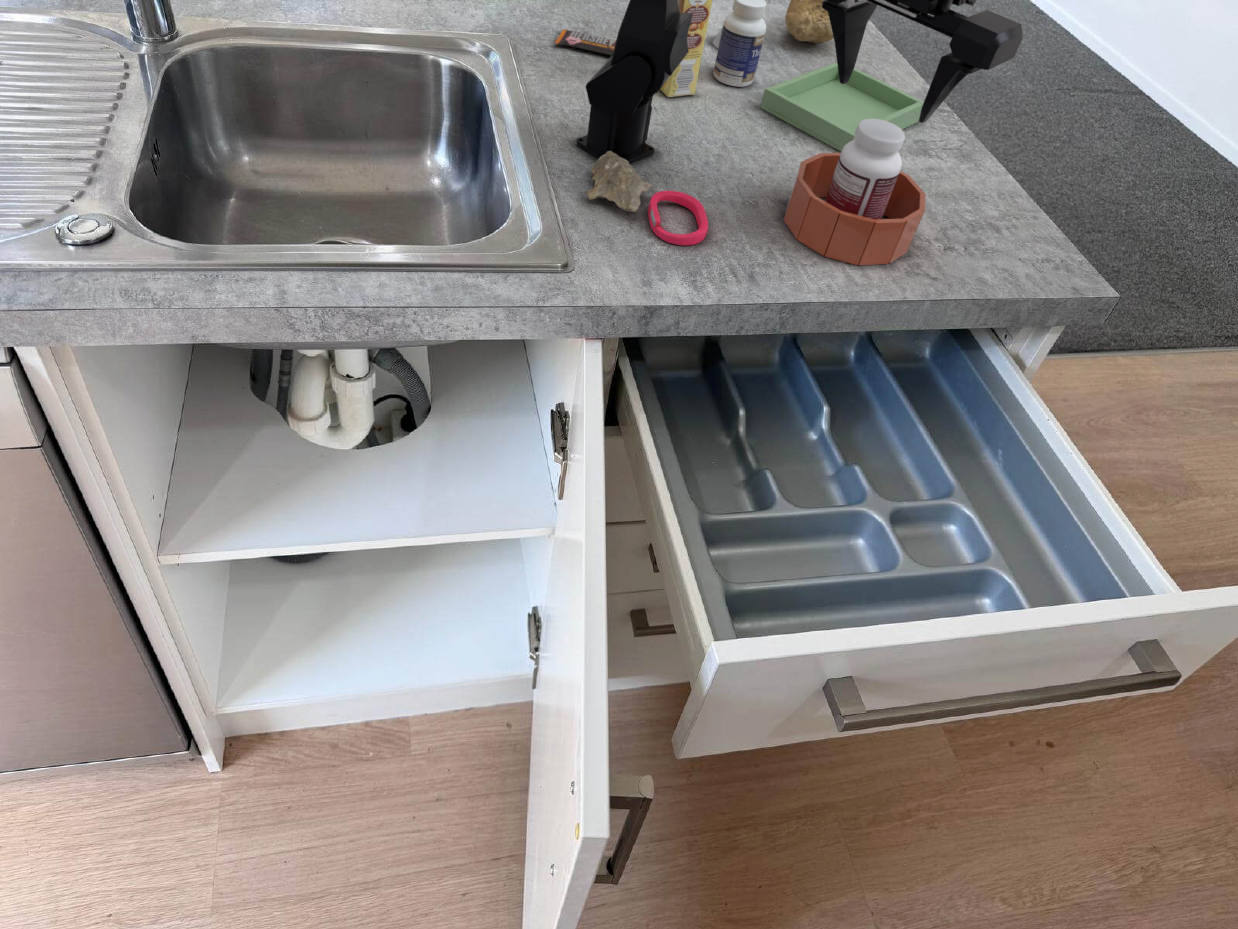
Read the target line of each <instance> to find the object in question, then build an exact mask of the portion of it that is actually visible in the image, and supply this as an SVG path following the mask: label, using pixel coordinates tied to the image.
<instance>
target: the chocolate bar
mask: <svg viewBox="0 0 1238 929" xmlns="http://www.w3.org/2000/svg"><path fill="white" fill-rule="evenodd" d="M615 43H616V39H612V38H608V37H604V36H600V35H594V34H590V33H586V32H581V31H577V30H569V29H564V28H563V29H562V31H561V32H560V34H559V35H558V37H557V38H556V40H555V41H554V44H556V45H562V46H565V47H566V46H567V47H571V48H575V49H579V50H583V51H587V52H593V53H597V54H601V55H605V56H610V57H611V56H612V55H613V51H614V47H615Z"/></svg>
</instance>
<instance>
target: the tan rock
mask: <svg viewBox="0 0 1238 929" xmlns="http://www.w3.org/2000/svg"><path fill="white" fill-rule="evenodd" d="M823 1H824V0H790V1H789V4H788V7H787V9H786V12H785V15H784V21H785V25H786V30H787V31H788V33H789V34H790V35H791V36H793V37H794V39H796V40H797V41H799V42H808V43H810V44H815V45H817V44H822V43H824V42H825V43H827V42H829V41H833V40H834V37H833V32H832V28H831V23H830V19H829V14H828V12H827V10H825V9H823V8H822V2H823Z"/></svg>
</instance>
